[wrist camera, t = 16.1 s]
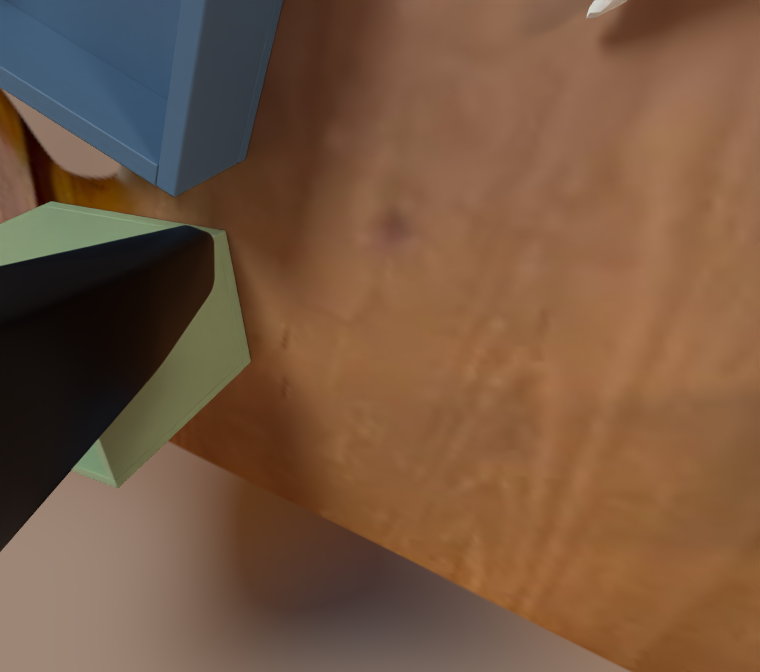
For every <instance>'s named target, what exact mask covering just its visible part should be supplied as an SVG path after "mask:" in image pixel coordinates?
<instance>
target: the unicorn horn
mask: <svg viewBox="0 0 760 672" xmlns="http://www.w3.org/2000/svg"><path fill="white" fill-rule="evenodd" d="M626 1H628V0H594V2H593V3H592V5H591V6H590V7H589V10H588V14H587V17H586V18H596V17H598V16H600V15H602V14H604V13H606V12H608V11H610V10H612V9H614V8H616V7H618V6H620V5H621V4H623V3H625V2H626Z"/></svg>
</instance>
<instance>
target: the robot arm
mask: <svg viewBox="0 0 760 672" xmlns="http://www.w3.org/2000/svg"><path fill="white" fill-rule="evenodd" d="M214 281H215V252H214V239H213V237H212V235H211V234H210V233H208V232H206V231H203V230H201V229H198V228H195V227H192V226H189V225H182V226H178V227H173V228H169V229H164V230H160V231H155V232H151V233H146V234H142V235H137V236H133V237H128V238H124V239H119V240H115V241H110V242H106V243H101V244H96V245H92V246H87V247H83V248H78V249H74V250H69V251H65V252H60V253H56V254H51V255H47V256H42V257H38V258H33V259H29V260H24V261H20V262H15V263H11V264H6V265H2V266H0V552H1V550H2V549H3V548H4V547H5V546H6V545H7V544H8V542H9V541H10V540H11V539H12V538H13V537H14V535H15V534H16V533H17V532H18V531H19V529H21V527H22V526H23V525H24V524H25V523H26V522H27V521H28V519H29V518H30V517H31V516H32V515H33V514H34V512H35V511H36V510H37V509H38V508H39V507H40V506H41V504H42V503H43V502H44V501H45V500H46V499H47V497H48V496H49V495H50V494H51V493H52V492H53V491H54V489H55V488H56V487H57V486H58V485H59V483H60V482H61V481H62V480H63V479H64V478H65V477H66V475H67V474H68V473H69V472H70V471H71V470H72V469H73V467H74V466H75V465H76V464H77V463H78V462H79V460H80V459H81V458H82V457H83V456H84V455H85V454H86V452H87V451H88V450H89V449H90V448H91V447H92V445H93V444H94V443H95V442H96V441H97V440H98V439H99V437H100V436H101V435H102V434H103V433H104V432H105V430H106V429H107V428H108V427H109V426H110V425H111V424H112V422H113V421H114V420H115V419H116V418H117V417H118V415H119V414H120V413H121V412H122V411H123V410H124V409H125V407H126V406H127V405H128V404H129V403H130V402H131V400H132V399H133V398H134V397H135V396H136V395H137V394H138V392H139V391H140V390H141V389H142V388H143V387H144V385H145V384H146V383H147V382H148V381H149V380H150V378H151V377H152V376H153V375H154V374H155V372H156V371H157V370H158V369H159V367H160V366H161V365H162V363H163V362H164V361H165V359H166V358H167V357H168V355H169V354H170V352H171V351H172V349H173V348H174V346H175V345H176V343H177V342H178V340H179V339H180V337H181V336H182V335H183V333H184V332H185V330H186V329H187V327H188V326H189V324H190V323H191V321H192V320H193V318H194V317H195V315H196V314H197V312H198V311H199V310H200V308H201V307H202V305H203V304H204V302H205V301H206V299H207V298H208V296H209V295H210V293H211V291H212V289H213V286H214Z"/></svg>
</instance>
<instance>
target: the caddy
mask: <svg viewBox="0 0 760 672" xmlns="http://www.w3.org/2000/svg"><path fill="white" fill-rule="evenodd" d="M182 225H189V224H183V223H177V222H171V221H165V220H159V219H153V218H147V217H141V216H135V215H129V214H123V213H117V212H111V211H105V210H99V209H93V208H88V207H82V206H76V205H70V204H64V203H58V202H49V203H46V204H44V205H42V206H39V207H37V208H35V209H33V210H30V211H28V212H26V213H24V214H21V215H19V216H17V217H15V218H13V219H10V220H8V221H6V222H4V223H1V224H0V266H2V265H6V264H11V263H15V262H20V261H24V260H29V259H33V258H38V257H42V256H47V255H51V254H56V253H60V252H65V251H69V250H74V249H78V248H83V247H87V246H92V245H96V244H101V243H106V242H110V241H115V240H119V239H124V238H128V237H133V236H137V235H142V234H146V233H151V232H155V231H160V230H164V229H169V228H173V227H178V226H182ZM189 226H192V227H195V228H198V229H201V230H203V231H206V232H208V233H210V234H211V235H212V237H213V239H214V252H215V281H214V286H213V289H212V291H211V293H210V295H209V296H208V298H207V299H206V301H205V302H204V304H203V305H202V307H201V308H200V310H199V311H198V312H197V314H196V315H195V317H194V318H193V320H192V321H191V323H190V324H189V326H188V327H187V329H186V330H185V332H184V333H183V335H182V336H181V337H180V339H179V340H178V342H177V343H176V345H175V346H174V348H173V349H172V351H171V352H170V354H169V355H168V357H167V358H166V359H165V361H164V362H163V363H162V365H161V366H160V367H159V369H158V370H157V371H156V372H155V374H154V375H153V376H152V377H151V378H150V380H149V381H148V382H147V383H146V384H145V385H144V387H143V388H142V389H141V390H140V391H139V392H138V394H137V395H136V396H135V397H134V398H133V399H132V400H131V402H130V403H129V404H128V405H127V406H126V407H125V409H124V410H123V411H122V412H121V413H120V414H119V415H118V417H117V418H116V419H115V420H114V421H113V422H112V424H111V425H110V426H109V427H108V428H107V429H106V430H105V432H104V433H103V434H102V435H101V436H100V437H99V439H98V440H97V441H96V442H95V443H94V444H93V445H92V447H91V448H90V449H89V450H88V451H87V452H86V454H85V455H84V456H83V457H82V458H81V459H80V460H79V462H78V463H77V464H76V465H75V466H74V467H73V469H72V470H71V471H74V472H77V473H79V474H82V475H84V476H87V477H90V478H92V479H95V480H97V481H100V482H102V483H105V484H108V485H110V486H113V487H116V488H119V487H120V486H121V485H122V484H123V483H124V482H125V481H126V480H127V479H128V478H129V477H130V476H131V475H133V474H134V473H135V472H136V471H137V469H139V468H140V467H141V466H142V465H143V464H144V463H145V462H146V461H147V460H148V459H149V458H150V457H152V455H154V454H155V453H156V452H157V451H158V450H159V449H160V448H161V447H162V446H163V445H164V444H165V443H166V442H167V441H168V440H169V439H171V438H172V437H173V436H174V435H175V434H176V433H177V432H178V431H179V430H180V429H181V428H182V427H183V426H184V425H185V424H186V423H187V422H188V421H190V420H191V419H192V418H193V417H194V416H195V415H196V414H197V413H198V412H199V411H200V410H201V409H202V408H203V407H204V406H205V405H206V404H207V403H209V402H210V401H211V400H212V399H213V398H214V397H215V396H216V395H217V394H218V393H219V392H220V391H221V390H222V389H223V388H224V387H225V386H226V385H228V384H229V383H230V382H231V381H232V380H233V379H234V378H235V377H236V376H237V375H238V374H239V373H240V372H241V371H242V370H243V368H245V367H246V366H247V365H248V364H249V363H250V362H251V360H250V354H249V349H248V344H247V339H246V334H245V329H244V323H243V318H242V313H241V308H240V303H239V298H238V292H237V287H236V282H235V277H234V272H233V267H232V262H231V256H230V251H229V246H228V241H227V236H226V231H225V230H219V229H213V228H207V227H201V226H195V225H189Z"/></svg>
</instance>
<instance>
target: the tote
mask: <svg viewBox="0 0 760 672" xmlns="http://www.w3.org/2000/svg"><path fill="white" fill-rule="evenodd" d="M282 3H283V0H0V88H2V89H4V90H5V91H7V92H8V93H10V94H12V95H13V96H15V97H16V98H18V99H19V100H21V101H23V102H24V103H26V104H27V105H29V106H30V107H32V108H33V109H35V110H37V111H38V112H40V113H41V114H43V115H45V116H46V117H48V118H49V119H51V120H52V121H54V122H55V123H57V124H59V125H60V126H62V127H63V128H65V129H67V130H68V131H70V132H71V133H73V134H74V135H76V136H78V137H79V138H81V139H82V140H84V141H85V142H87V143H89V144H90V145H92V146H93V147H95V148H96V149H98V150H100V151H101V152H103V153H104V154H106V155H107V156H109V157H111V158H112V159H114V160H115V161H117V162H118V163H120V164H122V165H123V166H125V167H126V168H128V169H129V170H131V171H133V172H134V173H136V174H137V175H139V176H140V177H142V178H144V179H145V180H147V181H148V182H150V183H151V184H153V185H157V187H159V188H160V189H162V190H163V191H165V192H167V193H168V194H170V195H171V196H173V197H176V196H178V195H180V194H182V193H184V192H185V191H187V190H189V189H191V188H193V187H195V186H196V185H198V184H200V183H202V182H204V181H206V180H208V179H209V178H211V177H213V176H215V175H217V174H219V173H221V172H222V171H224V170H226V169H228V168H230V167H232V166H234V165H235V164H236V163H240V162H242V161H244V160H245V158H246V154H247V150H248V145H249V141H250V137H251V133H252V129H253V124H254V120H255V116H256V112H257V108H258V104H259V99H260V95H261V91H262V87H263V83H264V78H265V74H266V70H267V66H268V62H269V58H270V53H271V49H272V45H273V41H274V37H275V32H276V28H277V24H278V20H279V16H280V11H281V7H282Z"/></svg>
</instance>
